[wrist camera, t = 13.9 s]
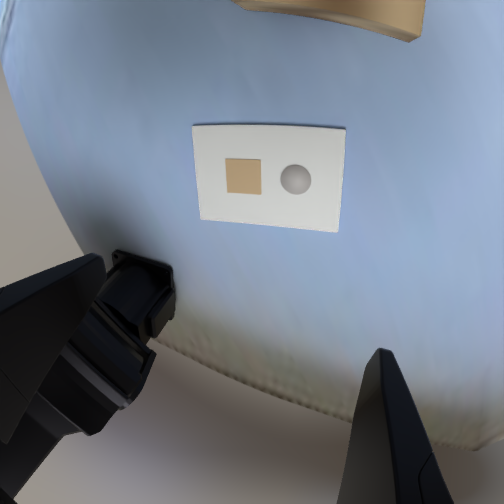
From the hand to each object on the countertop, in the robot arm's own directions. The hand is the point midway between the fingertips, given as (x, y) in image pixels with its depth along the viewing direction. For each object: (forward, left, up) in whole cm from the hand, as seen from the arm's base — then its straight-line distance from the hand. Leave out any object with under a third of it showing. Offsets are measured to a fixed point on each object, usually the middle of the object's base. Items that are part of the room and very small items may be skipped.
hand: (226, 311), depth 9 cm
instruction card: (-2, -1, -13) cm, 13 cm away
